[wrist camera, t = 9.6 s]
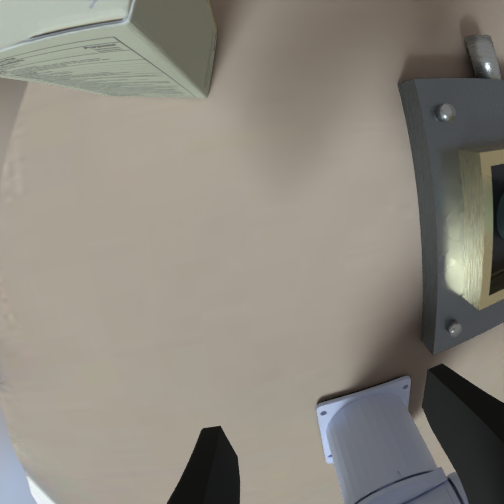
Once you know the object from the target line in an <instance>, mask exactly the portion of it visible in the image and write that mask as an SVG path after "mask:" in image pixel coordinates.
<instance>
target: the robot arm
mask: <svg viewBox="0 0 504 504" xmlns="http://www.w3.org/2000/svg"><path fill="white" fill-rule="evenodd" d="M410 386H411V379H410V377H409V376H403V377H401V378H398V379H395V380H392V381H390V382H387V383H384V384H381V385H378V386H375V387H372V388H369V389H366V390H363V391H359V392H356V393H353V394H350V395H346V396H343V397H339V398H336V399H332V400H329V401H325V402H321V403H319V404H318V405H317V406H316V411H317V417H318V422H319V427H320V432H321V438H322V443H323V449H324V454H325V460H326V463H334V466H335V470H336V474H337V478H338V482H339V486H340V490H341V494H342V497H343V501H344V504H504V403H503V402H501V401H499V400H498V399H496V398H494V397H492V396H491V395H489V394H488V393H486V392H484V391H483V390H481V389H480V388H478V387H477V386H475V385H473V384H472V383H470V382H469V381H468V380H466V379H465V378H463V377H462V376H460V375H459V374H457V373H456V372H454V371H453V370H451V369H450V368H448V367H447V366H445V365H444V364H440V365H437V366H435V367H433V368H430V369H428V371H427V378H426V385H425V391H424V397H423V403H422V408H423V410H424V412H425V415H426V417H427V420H428V422H429V424H430V427H431V429H432V431H433V432H434V434H435V436H436V437H437V439H438V441H439V443H440V444H441V446H442V448H443V450H444V451H445V453H446V455H447V456H448V458H449V460H450V462H451V463H452V465H453V467H454V469H455V470H456V472H457V473H456V472H453V473H451V474H449V475H448V476H447V477H446V475H445V473H444V471H443V469H442V467H439V468H438V467H437V465H436V463H435V461H434V459H433V457H432V455H431V453H430V451H429V449H428V447H427V445H426V444H425V442H424V440H423V438H422V436H421V434H420V432H419V430H418V428H417V426H416V424H415V423H414V421H413V419H412V417H411V415H410V413H409V411H408V404H409V395H410ZM323 411H324V412H323ZM167 504H240V475H239V466H238V457H237V455H236V453H235V451H234V450H233V448H232V446H231V444H230V442H229V441H228V439H227V437H226V435H225V433H224V432H223V430H222V428H221V426H217V427H209V428H203V429H202V430H201V432H200V435H199V438H198V440H197V443H196V445H195V448H194V450H193V453H192V455H191V457H190V459H189V462H188V464H187V466H186V468H185V470H184V472H183V474H182V476H181V479H180V481H179V483H178V484H177V486H176V488H175V490H174V492H173V493H172V495H171V497H170V499H169V500H168V502H167Z"/></svg>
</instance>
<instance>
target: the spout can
mask: <svg viewBox="0 0 504 504" xmlns="http://www.w3.org/2000/svg"><path fill="white" fill-rule="evenodd" d="M497 228H498V231H499V234H500V236H501V237H502V238H503V239H504V193H503V195H502V197H501V199H500V202H499V205H498V210H497Z"/></svg>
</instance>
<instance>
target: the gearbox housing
mask: <svg viewBox="0 0 504 504" xmlns="http://www.w3.org/2000/svg"><path fill="white" fill-rule="evenodd" d="M465 41H466V45H467V48H468V51H469V55H470V58H471V62H472V66H473V69H474V73H475V77H476V78H426V79H412V80H409V81H405V82H402V83H398V87H399V91H400V95H401V100H402V104H403V108H404V113H405V118H406V123H407V128H408V133H409V139H410V144H411V150H412V156H413V163H414V170H415V177H416V185H417V193H418V203H419V213H420V225H421V241H422V263H423V316H422V338H421V340H422V342H423V343H424V344H425V345H426V347H427V348H428V349H429V350H430V352H431V353H432V354H433V355H435V354H437V353H439V352H442V351H444V350H446V349H449V348H451V347H453V346H456V345H458V344H460V343H462V342H464V341H467V340H469V339H471V338H473V337H475V336H477V335H479V334H481V333H483V332H485V331H487V330H489V329H491V328H493V327H495V326H497V325H499V324H501V323H503V322H504V239H503V238H502V237H501V236H500V234H499V231H498V228H497V210H498V205H499V202H500V199H501V197H502V195H503V193H504V80H502V75H501V71H500V67H499V63H498V60H497V56H496V52H495V49H494V46H493V42H492V39H491V36H488V35H472V36H468V37H466V38H465Z"/></svg>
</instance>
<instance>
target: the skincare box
mask: <svg viewBox="0 0 504 504" xmlns="http://www.w3.org/2000/svg"><path fill="white" fill-rule="evenodd" d="M217 33H218V29H217V26H216V22H215V18H214V14H213V11H212V7H211V4H210V0H0V78H10V79H16V80H24V81H31V82H37V83H43V84H49V85H55V86H60V87H66V88H71V89H76V90H81V91H86V92H90V93H95V94H99V95H104V96H143V97H179V98H207V97H208V92H209V86H210V80H211V74H212V68H213V61H214V55H215V48H216V40H217Z"/></svg>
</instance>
